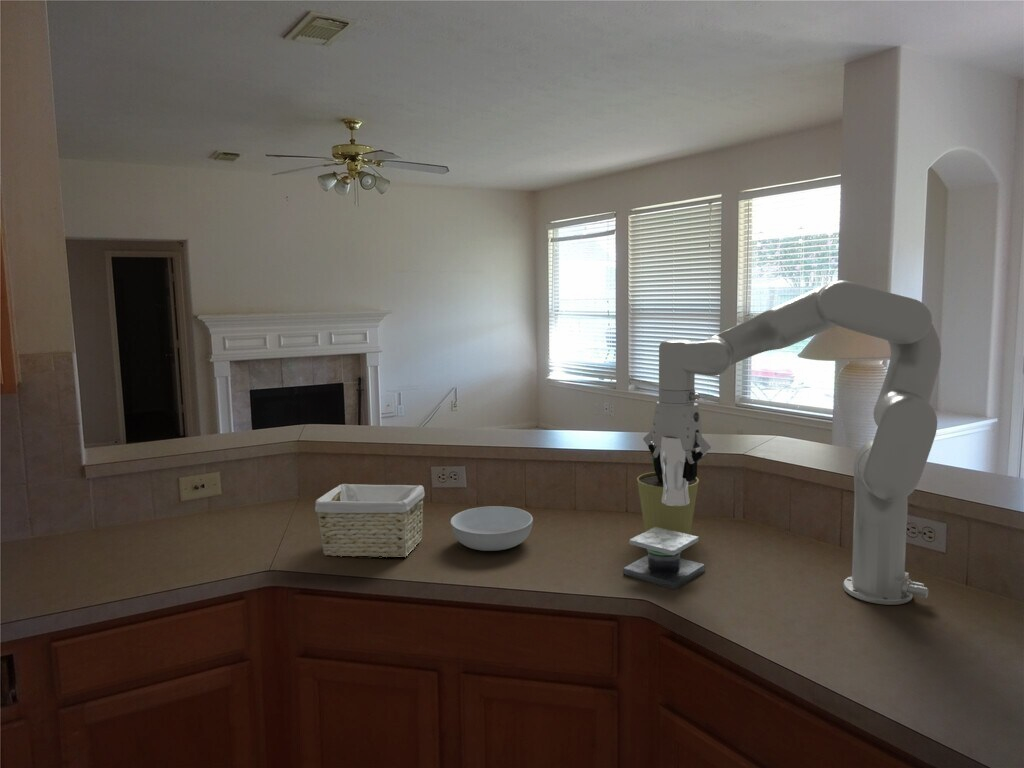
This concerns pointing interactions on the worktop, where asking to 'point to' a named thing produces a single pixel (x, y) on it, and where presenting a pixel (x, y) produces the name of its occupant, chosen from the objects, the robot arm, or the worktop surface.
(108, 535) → the worktop surface
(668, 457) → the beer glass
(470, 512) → the serving bowl
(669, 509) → the potted cactus
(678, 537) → the metal stand
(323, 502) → the storage basket
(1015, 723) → the worktop surface
